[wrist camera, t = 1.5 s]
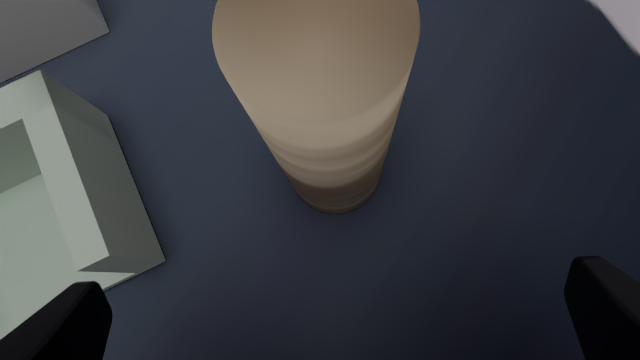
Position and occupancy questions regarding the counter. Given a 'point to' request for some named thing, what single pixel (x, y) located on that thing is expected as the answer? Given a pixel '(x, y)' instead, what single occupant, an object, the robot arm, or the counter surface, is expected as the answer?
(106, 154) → the cradle
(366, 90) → the dowel
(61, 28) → the backstop wall
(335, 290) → the counter surface
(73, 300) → the robot arm
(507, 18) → the counter surface
